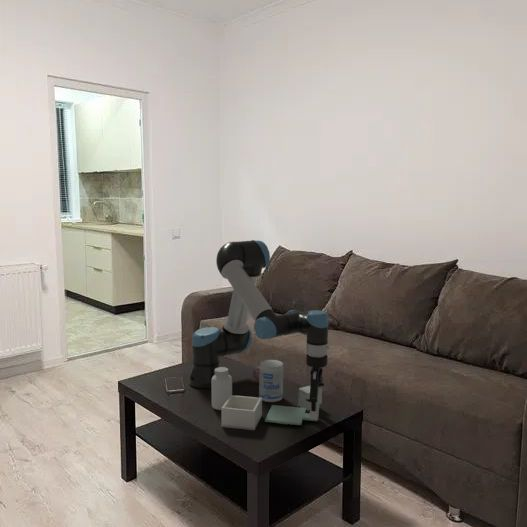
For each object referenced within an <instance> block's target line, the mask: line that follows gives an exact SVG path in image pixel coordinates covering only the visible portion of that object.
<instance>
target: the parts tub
mask: <svg viewBox="0 0 527 527" xmlns="http://www.w3.org/2000/svg"><path fill="white" fill-rule="evenodd" d="M220 411H221V415H220V416H221V419H220V420H221V421H220V422H221V427H222V428H229V429H230V428H231V429H239V430H248V431H256V429H257V427H258V425H259V423H260V421H261V418H262V416H263V400H262V398H259V397H255V396H245V395H244V396H243V395H233V394H232V395H230V397H229V398H228V400H227V401H226V402H225V404H224V405H223V407H222V408H221V410H220Z"/></svg>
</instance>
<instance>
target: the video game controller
mask: <svg viewBox="0 0 527 527" xmlns="http://www.w3.org/2000/svg"><path fill="white" fill-rule="evenodd" d="M259 374H260V365H258V366H256V367H255V368H254V370H253V371H252V377H253V378H254V379H255V380H256V381H257V382H258V383H259Z"/></svg>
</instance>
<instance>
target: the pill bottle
mask: <svg viewBox="0 0 527 527" xmlns="http://www.w3.org/2000/svg"><path fill="white" fill-rule="evenodd" d="M211 386H212V388H211V407H212V409H213V410H217V411H221V408H222V407H223V405H224V404H225V402H226V401H227V400H228V398H229V397H230V395H233V378H232V375H230V374H229V368H228V367H225V366H220V367H218V368H216V369H215V375H214V376H213V377H212V380H211Z"/></svg>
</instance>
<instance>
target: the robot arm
mask: <svg viewBox="0 0 527 527" xmlns="http://www.w3.org/2000/svg"><path fill="white" fill-rule="evenodd" d="M270 254H271V253H270V249H269V248H268V246H267V244H266V243H265V242H264V241H262V240H253V239H252V240H246V241H245V240H242V241H240V240H239V241H229V242H227V243H224V245H222V246H221V247H220V248H219V250H218V252H217V254H216V262H215V263H216V267H217V270H218V272H219V274H220V275H221V276H222V278H223V279H225V280H227V281H228V283H229V284H230V285H231V287H232V289H233V290H232V296H231V300H230V304H229V310H228V314H227V319H226V320H225V321H223V323H222V328H221V329H219V328H218V327H216V326H210V327H209V326H206V327H202V328H199V329H197V330H195V331H194V332H193V334H192V340H191V344H192V367H191V370H190V374H189V377H188V385H190V386H191V387H194V388H199V389H212V386H211V380H212V377H213V376H214V375H215V369H216V368H218V367H221V364H220V362H221V360H220V359H221V357H225V356H230V355H231V356H232V355H235V354H241V353H243V352H246V351H248V350H249V348H251V346H252V341H253V336H252V335H253V334H252V331H251V329H250V326H249V324H248V318H249V314H250V315H251V316H252V318H253V320H254V325H253V330H254V332H255V335H256V336H257V338H259V339H261V340H266V339H267V340H269V339H274V338H278V337H282V336H283V337H284V336H289V335H294V334H302V335H305V336H306V347H305V348H306V351H305V352H306V353H305V354H306V358H305V359H306V360H305V361H306V362H305V364H306V365H307V366H308V367H310V368H311V370H310V379H309V380H310V384H309V386H310V399H308V402H310V411H309V414H310V419H316V420H317V419H318V420H319V417H318V401H319V405H322V404H323V401H322V400H323V395H322V394H323V387H324V386H325V383H324V382H323V372H324V371H323V368H325V367H327V366H328V349H330V346H329V344H328V343H329V340H328V339H329V325H330V324H329V315H328V312H326V311H324V310H318V309H315V310H309V311H308V312H307V313H306V312H303V311H300V310H298V309H297V310H296V309H295V310H294V309H290V310H288V311H287V312H285V313H283V314H276V312H275V311H274V310H273V309H272V307H271V306H270V304H269V302H268V301H267V300H266V298H265V297H264V295H263V294H262V293H261V291H260V290H259V288H258V287H257V286H256V281H257V278H258V277H260V276H261V274H262V272H263V271H262V270H263V269H265V268H266V267H268V266H269V264H270V262H271V255H270Z"/></svg>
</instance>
